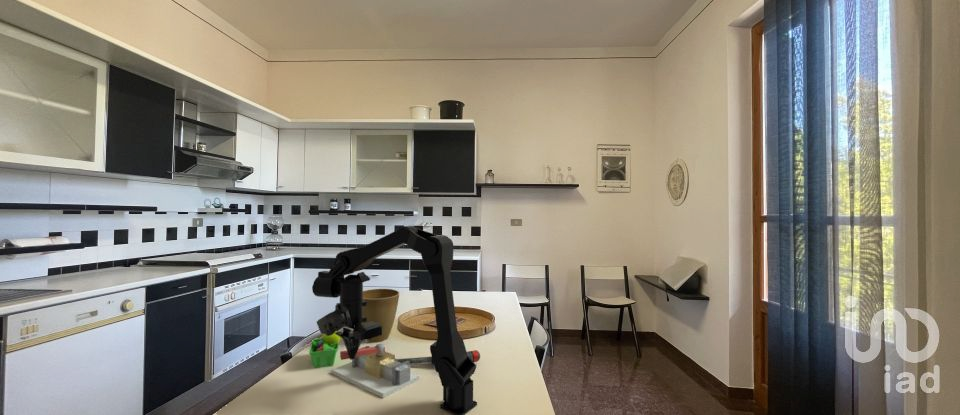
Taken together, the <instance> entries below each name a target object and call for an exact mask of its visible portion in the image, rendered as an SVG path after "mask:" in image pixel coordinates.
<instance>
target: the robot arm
mask: <svg viewBox="0 0 960 415" xmlns="http://www.w3.org/2000/svg"><path fill="white" fill-rule="evenodd" d="M405 245H407V247H409V248H410V249H411V250H412V251H414V252H416V253H418V254H420V256H421V259H422V263H423V266H425V267H424V268H426V270H427V272H428V274H429V275H430V276H429V277H430V282H431V283H430V284H431V291H432V300H433V307H434V308H433V309H434V317H435V324H436V331H437V332H436V333H437V339H436V341H435V342H433V343H432V344H431V345H429V350H430V355H431V357H432V361H431V363H430V364H431V365H432V364H433V363H434V366H433V367H434V370H435V372H436V373H438V376H439V380H440V383H441V386H442V390H443V391H442V400H443V402H442V403H440V404H439V408H440V409H442V410H444V411H447V412H448V413H451V414H454V415H465V414H467V413H468V412H469V411H470V410H472V409H474V407H476V406H478V402H477V401H476V400H474V380H473V379H471V377H472V375H474V374H475V372H476V369H477V364H475V363H476V362H473V361H472V360H471V358H470V357H469V356H468V355H467V352H468V351H467V349H466V345H465V341H464V339H463V337H462V336H461V335H460V333H459V332H458V324H457V319H456V318H457V316H456V309H455V302H454V293H453V285H452V278H451V268H452V265H453V261H454V248H455V247H454V242H453V240H452V239H451V238H450V237H449V236H447V235H444V234H440V235H439V234H435V233H433V232H429V231H426V230H423V229H420V228H418V227H416V226H414V225H404V226H401V227H400V228H398V229H397V230H395V231H393V232H391V233H389V234H386V235H385V236H383V237H381V238H378V239H376V240H374V241H372V242H370V243H368V244H366V245H364V246H360V247H356V248H352V249H347V250H343V251H340V252H338V253H337V254H336V255H335V260H334V262H333V264H332V266H331V268H330V269H329V271H328V270H321V271H318V273H317V277H315V279H314V280H313V285H312V286H311V288H312V289H311V290H312V291H311V292H312V293H313V295H314V296H316V297H318V298H319V297H320V298H333V299H336V298H339V302H338V303H336V304H335V305H334V307H335V308H334V311H333V310H332V311H331V312H329V313H327V314H326V315H324V316H322V317H321V318H319V319H318V320H317V321H316V325H317V326H318V330H319V332H320V334H321V335H323V334H326V335H327V336H330V335H332V334H334V333H335V332H336V331H338V332H336V333H335V334H336V335H338V336H339V337H341V339H342V340H343V344H344V345H345V348H346V351H347V352H348V355H349V358H350V359H349V360H351V361H352V359H354V358H355V355H356V353H357V351H358V349H360V347H361V344H362V343H363V341H368V340H367V339H370V338H373V337H377V336H380V335H382V334H383V332H382V326H381V325H380V324H379V323H375V322H368V323H364V324H362V322H366V321H367V317H363V306H366V301H363V291H364V285H363V284H364V283H365V282H369V281H370V280H371V277H369V276H368V275H367V274H366V273H365V271H362V270H364V269H365V268H367V267H369V265H371V264H372V263H373V261H374V260H376V259H377V258H379V257H382V256H384V255H385V254H388V253H390V252H392V251H394V250H396V249H399V248H401V247H403V246H405ZM359 271H361V272H359ZM356 272H358V273H357V274H354V273H356Z"/></svg>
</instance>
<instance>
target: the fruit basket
mask: <svg viewBox="0 0 960 415" xmlns="http://www.w3.org/2000/svg"><path fill="white" fill-rule="evenodd" d="M336 332H338V331H336ZM336 332H335V333H336ZM335 333H334V334H332V335H330V336H327V335H326V334H322V338H320V337H319V338H315V339H313V340H312V342H311V345H310V348H309V351H308V352H309V355H310V356H311V361H312V364H313V367H314V369H316V368H323V367H329V366H330V367H331V366H334V363H335V359H336V355H337V352H338V349H339V342H341V339H342V338H341V337H339V336H338V335H336V334H335Z"/></svg>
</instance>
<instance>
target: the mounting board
mask: <svg viewBox="0 0 960 415" xmlns="http://www.w3.org/2000/svg"><path fill="white" fill-rule="evenodd" d="M331 374H333V375H335V376H337V377H339V378H341V379H343V380H345V381H347V382H349V383H351V384H354V385H356V387H360V388H362V389H364V390H366V391H368V392H370V393H372V394H374V395H377V396H379V397H381V398H383V399H384V398H386V397H388V396H390V395H392V394H394V393H395V392H398V391H399V389H400V390H401V389H403V388H405V387H407V386H409V385H411V384H413V383H415V382H417V381H418V380H420V375H419V374H416V373H413V372H411V371H410V381H408V382H406V383H404V384H402V385H398V384H397V385H392V382H391V381H388V380H386V379H384V378H380V379H379V378H376V377H374V376H372V375H369V374H367V373H365V370H363V369H360V368H358V367H355V368H353V367H352V361H351V362H347V363H345V364H343V365H340V366H338V367H334V368H333V369H331Z"/></svg>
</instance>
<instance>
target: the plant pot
mask: <svg viewBox="0 0 960 415" xmlns="http://www.w3.org/2000/svg"><path fill="white" fill-rule="evenodd" d="M399 299H400V291H399V290H396V289H392V288H372V289H371V288H370V289H365V290H363V301H366V306H363V317H367V321H366V322H362V324H364V323H368V322H375V323H379V324H380V325H381V326H382V332H383V334H382V335H380V336H377V337H373V338H370V339H367V340H366V341H368V342H371V343H378V342H384V341H386V340H388V339H389V337H390V334H391V332H392V329H393V325H394V322H395V320H396V314H397V310H398V304H399Z"/></svg>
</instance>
